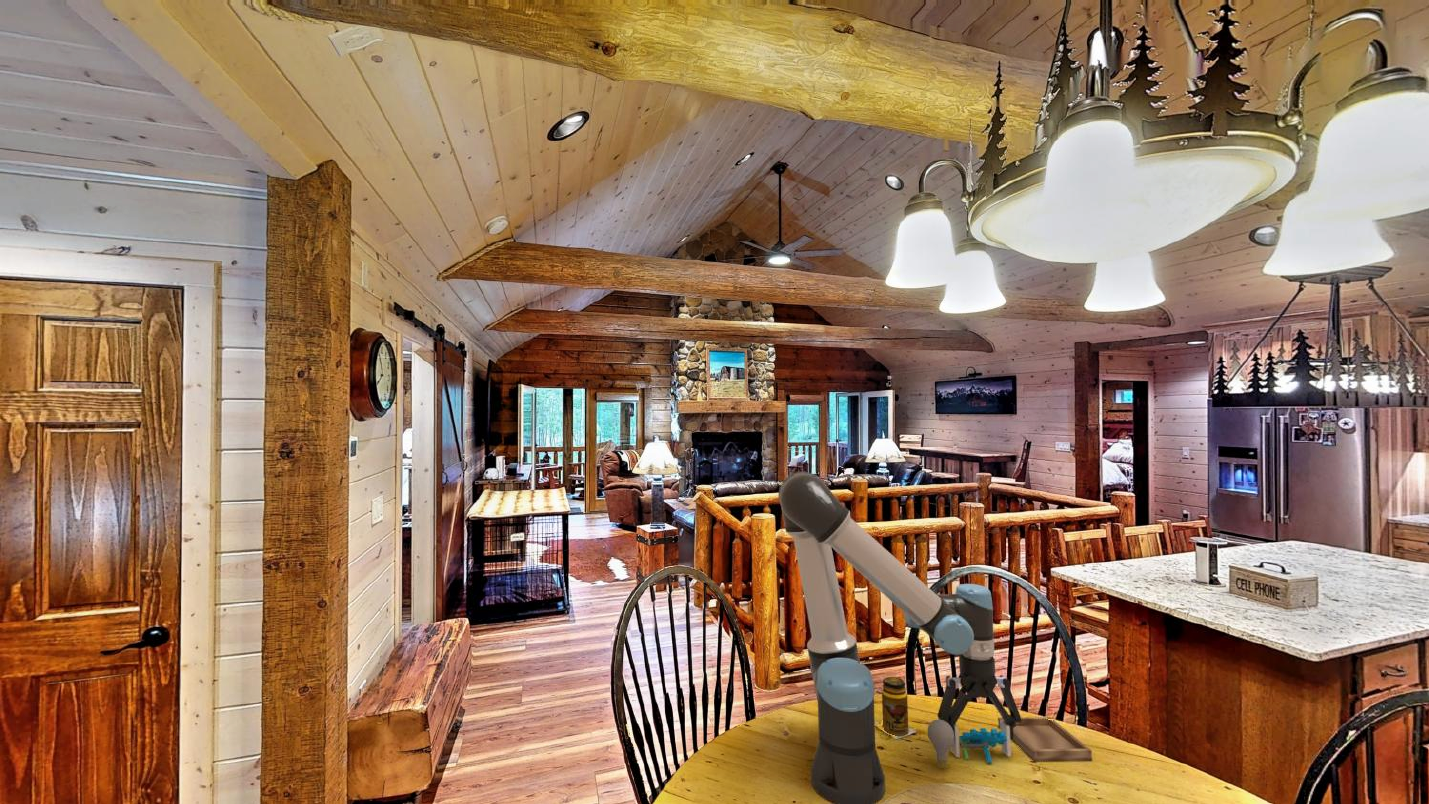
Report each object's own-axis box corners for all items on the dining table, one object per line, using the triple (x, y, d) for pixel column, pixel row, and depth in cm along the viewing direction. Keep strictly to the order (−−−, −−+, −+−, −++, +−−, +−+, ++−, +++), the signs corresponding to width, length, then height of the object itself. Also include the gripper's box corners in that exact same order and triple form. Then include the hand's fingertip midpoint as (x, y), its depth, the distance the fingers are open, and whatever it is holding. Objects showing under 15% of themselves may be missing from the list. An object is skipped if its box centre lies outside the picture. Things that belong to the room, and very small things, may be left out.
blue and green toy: (1004, 740, 128) (1006, 724, 122) (1012, 770, 123) (1015, 754, 117) (954, 741, 130) (953, 725, 124) (960, 770, 126) (960, 755, 120)
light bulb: (939, 777, 117) (937, 728, 117) (923, 763, 122) (921, 716, 123) (961, 773, 118) (959, 725, 119) (944, 759, 123) (942, 713, 124)
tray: (1033, 761, 122) (1033, 751, 122) (998, 726, 137) (998, 717, 137) (1092, 760, 122) (1091, 750, 122) (1050, 726, 137) (1050, 717, 137)
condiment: (895, 740, 131) (894, 688, 132) (870, 724, 139) (869, 675, 140) (917, 732, 135) (915, 682, 136) (891, 717, 142) (889, 669, 143)
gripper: (932, 661, 123) (936, 763, 121) (1036, 660, 123) (1041, 762, 121) (919, 648, 130) (923, 745, 129) (1017, 647, 131) (1022, 743, 129)
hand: (980, 753), depth 125 cm, fingers closed on blue and green toy, 11 cm apart
